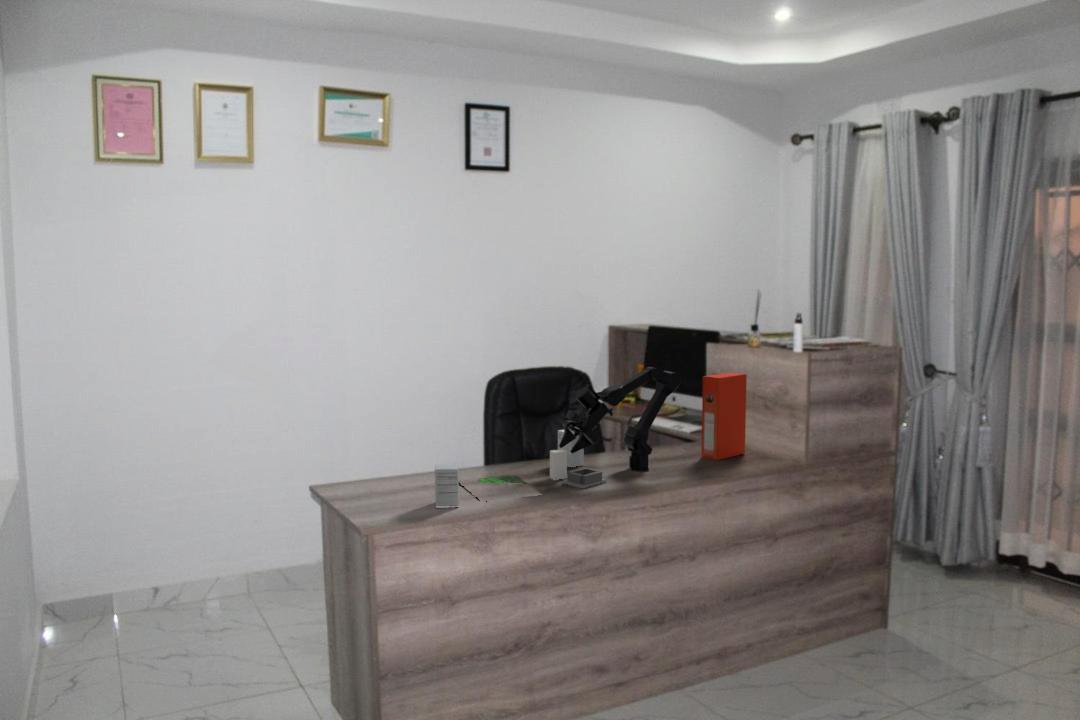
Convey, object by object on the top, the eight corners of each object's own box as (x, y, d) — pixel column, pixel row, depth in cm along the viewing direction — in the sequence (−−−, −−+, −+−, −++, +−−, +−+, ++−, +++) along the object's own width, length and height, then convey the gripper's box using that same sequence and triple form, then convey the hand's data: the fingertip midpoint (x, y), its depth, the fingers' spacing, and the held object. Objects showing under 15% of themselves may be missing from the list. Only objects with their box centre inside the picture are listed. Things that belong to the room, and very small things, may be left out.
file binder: (700, 457, 337) (702, 376, 334) (728, 450, 348) (730, 372, 345) (717, 460, 331) (719, 378, 327) (744, 454, 342) (747, 374, 339)
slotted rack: (587, 477, 306) (587, 466, 305) (606, 482, 299) (606, 471, 299) (563, 483, 298) (563, 472, 297) (582, 488, 291) (582, 477, 291)
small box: (584, 465, 324) (584, 431, 322) (571, 468, 320) (571, 433, 318) (569, 461, 330) (569, 428, 328) (557, 464, 326) (557, 430, 324)
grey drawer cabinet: (435, 502, 275) (435, 463, 274) (459, 501, 276) (458, 463, 275) (434, 508, 268) (434, 469, 267) (458, 508, 269) (458, 468, 267)
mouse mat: (545, 496, 283) (545, 493, 283) (481, 504, 275) (481, 500, 275) (515, 477, 308) (515, 474, 308) (456, 483, 300) (456, 480, 299)
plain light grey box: (562, 476, 307) (562, 449, 306) (566, 478, 304) (566, 451, 303) (549, 478, 305) (549, 450, 304) (554, 480, 302) (554, 452, 301)
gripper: (567, 398, 313) (540, 430, 310) (591, 406, 296) (562, 440, 293) (586, 418, 317) (559, 450, 314) (611, 427, 301) (582, 461, 297)
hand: (565, 449), depth 305 cm, fingers open, 9 cm apart
